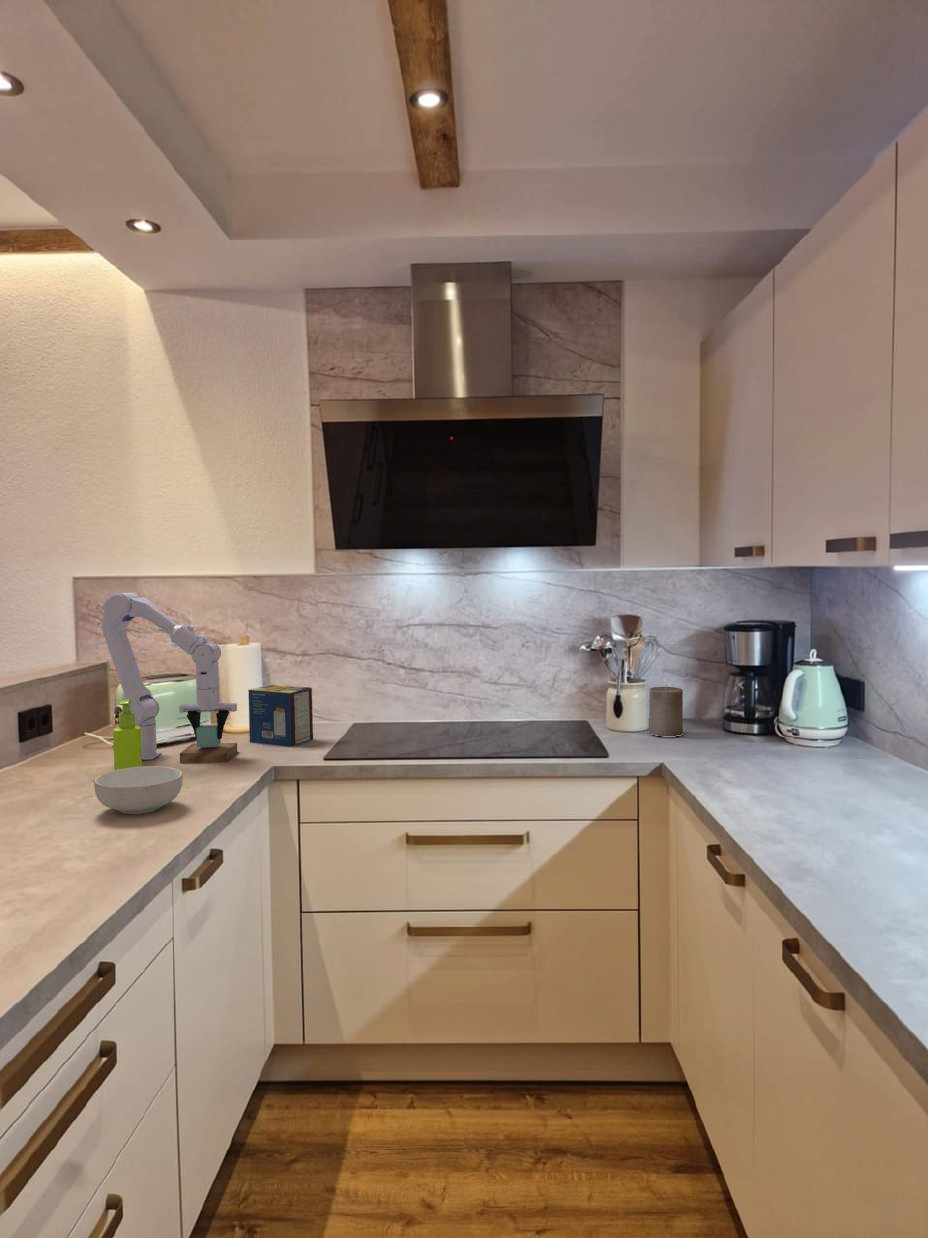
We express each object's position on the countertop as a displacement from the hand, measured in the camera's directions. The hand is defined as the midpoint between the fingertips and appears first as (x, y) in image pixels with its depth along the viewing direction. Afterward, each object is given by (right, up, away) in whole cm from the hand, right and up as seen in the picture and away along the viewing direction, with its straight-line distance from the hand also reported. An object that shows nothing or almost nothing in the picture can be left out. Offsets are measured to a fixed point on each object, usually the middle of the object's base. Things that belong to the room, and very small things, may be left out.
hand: (209, 738), depth 213 cm
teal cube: (0, -2, 0) cm, 2 cm away
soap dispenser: (-10, -7, -27) cm, 30 cm away
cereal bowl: (+1, -8, -47) cm, 47 cm away
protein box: (+15, -4, +20) cm, 25 cm away
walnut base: (0, -5, 0) cm, 5 cm away
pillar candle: (+127, -3, +25) cm, 130 cm away
